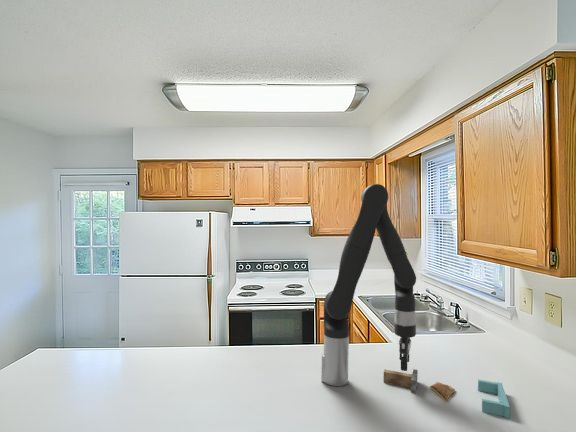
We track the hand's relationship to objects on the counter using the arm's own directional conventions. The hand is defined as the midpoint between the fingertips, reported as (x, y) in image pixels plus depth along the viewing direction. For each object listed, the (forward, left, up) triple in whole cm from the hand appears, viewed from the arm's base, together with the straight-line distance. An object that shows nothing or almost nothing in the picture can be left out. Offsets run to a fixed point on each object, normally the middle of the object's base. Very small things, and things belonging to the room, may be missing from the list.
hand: (405, 365), depth 135 cm
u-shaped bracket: (+28, 0, -7) cm, 29 cm away
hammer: (-2, 0, -7) cm, 7 cm away
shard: (+14, 0, -8) cm, 16 cm away
